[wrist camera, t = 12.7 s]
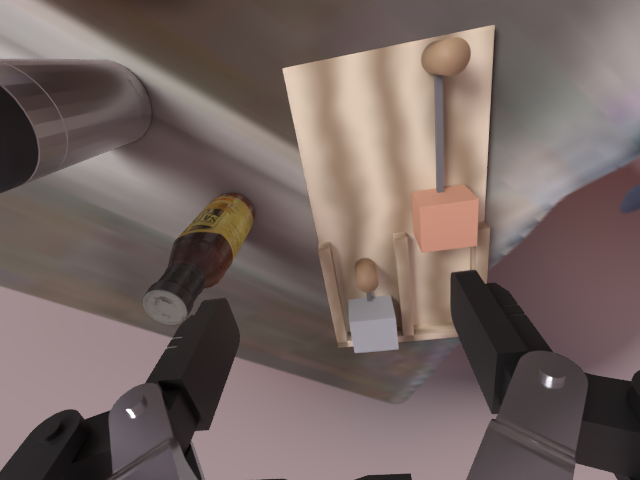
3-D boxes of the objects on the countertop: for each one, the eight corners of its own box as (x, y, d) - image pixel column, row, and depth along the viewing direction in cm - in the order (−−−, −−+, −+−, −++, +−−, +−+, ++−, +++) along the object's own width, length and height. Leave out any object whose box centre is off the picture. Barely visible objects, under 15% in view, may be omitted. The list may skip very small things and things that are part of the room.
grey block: (353, 329, 53) (354, 353, 49) (341, 260, 48) (341, 281, 43) (393, 325, 53) (398, 349, 48) (386, 255, 47) (391, 275, 42)
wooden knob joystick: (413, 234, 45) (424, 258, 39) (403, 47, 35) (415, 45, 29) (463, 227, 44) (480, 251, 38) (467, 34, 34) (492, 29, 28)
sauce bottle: (234, 181, 44) (165, 261, 26) (265, 217, 46) (220, 313, 29) (200, 207, 46) (114, 298, 28) (231, 240, 48) (169, 343, 31)
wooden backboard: (338, 334, 55) (338, 347, 53) (283, 68, 37) (279, 68, 35) (476, 320, 53) (483, 334, 50) (490, 25, 34) (503, 22, 32)
